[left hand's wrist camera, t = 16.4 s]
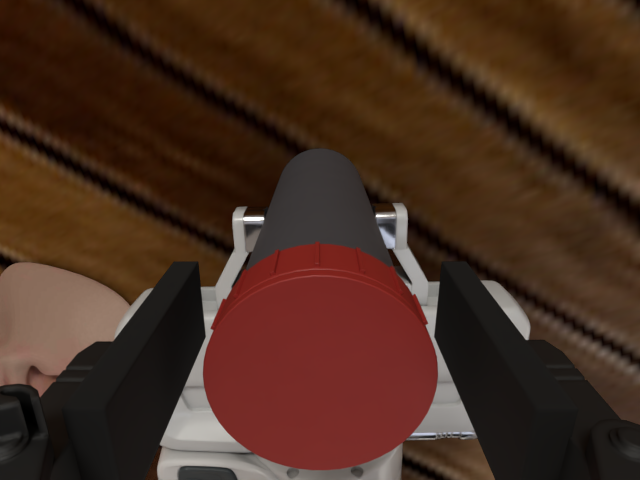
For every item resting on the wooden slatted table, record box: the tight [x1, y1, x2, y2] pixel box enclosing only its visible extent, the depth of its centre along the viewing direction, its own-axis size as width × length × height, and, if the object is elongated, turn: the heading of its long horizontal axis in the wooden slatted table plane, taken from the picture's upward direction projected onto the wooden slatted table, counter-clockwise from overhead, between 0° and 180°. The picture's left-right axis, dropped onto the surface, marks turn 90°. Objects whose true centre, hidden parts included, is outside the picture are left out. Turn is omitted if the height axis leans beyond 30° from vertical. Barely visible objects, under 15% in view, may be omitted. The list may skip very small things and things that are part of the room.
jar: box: [246, 149, 394, 271], centre depth 19 cm, size 5×5×18 cm
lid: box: [203, 242, 438, 470], centre depth 12 cm, size 6×6×2 cm
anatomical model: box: [0, 262, 130, 397], centre depth 30 cm, size 13×4×12 cm
